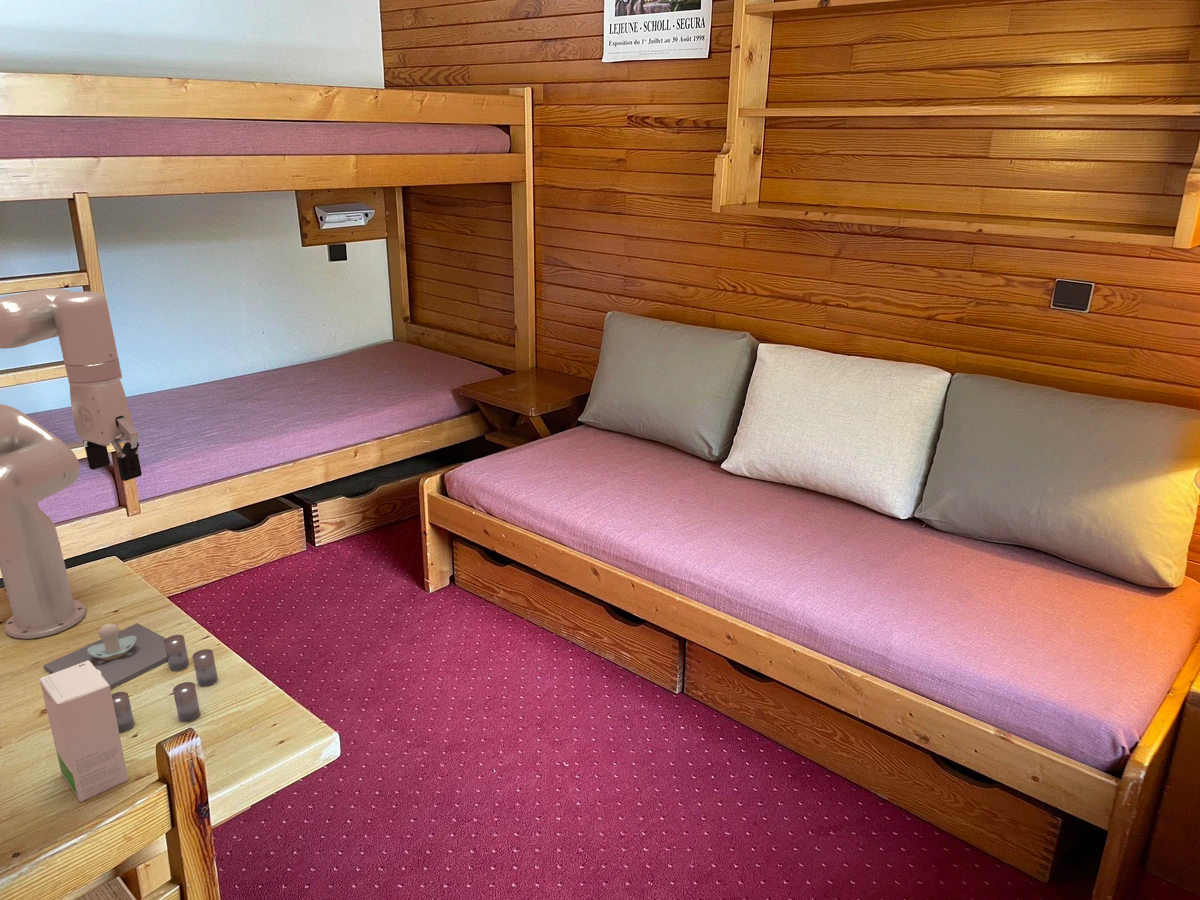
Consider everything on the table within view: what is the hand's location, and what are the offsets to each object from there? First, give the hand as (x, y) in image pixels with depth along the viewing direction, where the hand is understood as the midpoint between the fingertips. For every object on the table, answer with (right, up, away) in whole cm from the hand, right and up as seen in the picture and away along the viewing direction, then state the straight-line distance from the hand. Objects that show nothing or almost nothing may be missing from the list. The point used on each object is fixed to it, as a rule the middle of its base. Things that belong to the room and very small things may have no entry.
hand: (115, 472), depth 150 cm
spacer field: (+12, -35, -9) cm, 38 cm away
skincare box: (+11, -41, -25) cm, 50 cm away
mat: (-1, -31, +2) cm, 32 cm away
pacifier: (-2, -31, +3) cm, 31 cm away
